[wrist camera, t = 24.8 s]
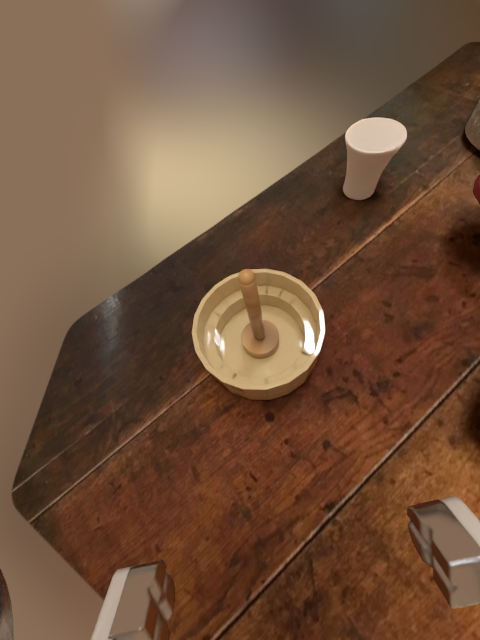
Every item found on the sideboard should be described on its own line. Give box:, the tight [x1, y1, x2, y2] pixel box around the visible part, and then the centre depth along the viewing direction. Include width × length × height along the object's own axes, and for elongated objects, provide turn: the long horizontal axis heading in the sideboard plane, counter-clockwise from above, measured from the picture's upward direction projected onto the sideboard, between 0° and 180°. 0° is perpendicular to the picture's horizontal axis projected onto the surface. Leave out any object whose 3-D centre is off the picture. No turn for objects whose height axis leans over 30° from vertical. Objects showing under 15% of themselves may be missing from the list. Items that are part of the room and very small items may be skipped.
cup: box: [343, 118, 407, 200], centre depth 45 cm, size 9×9×10 cm
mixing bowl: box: [192, 269, 326, 400], centre depth 36 cm, size 16×16×7 cm
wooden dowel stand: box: [238, 269, 279, 359], centre depth 31 cm, size 5×5×17 cm
